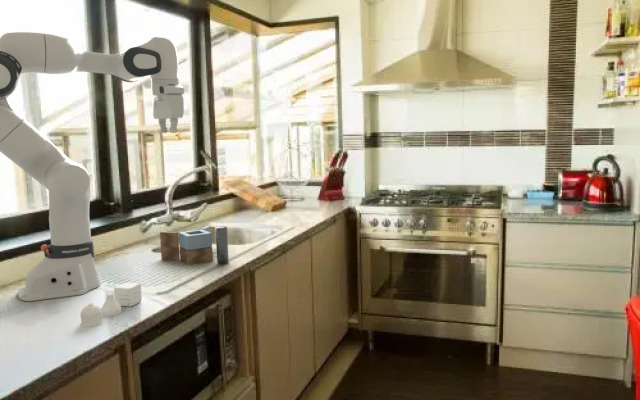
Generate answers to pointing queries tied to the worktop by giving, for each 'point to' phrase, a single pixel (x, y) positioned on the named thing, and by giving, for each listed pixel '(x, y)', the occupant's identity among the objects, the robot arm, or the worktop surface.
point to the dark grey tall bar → (222, 245)
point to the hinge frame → (182, 250)
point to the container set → (111, 304)
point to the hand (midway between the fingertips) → (168, 132)
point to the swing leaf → (196, 238)
